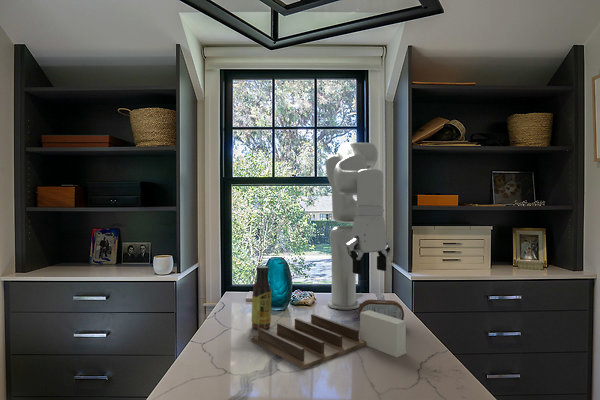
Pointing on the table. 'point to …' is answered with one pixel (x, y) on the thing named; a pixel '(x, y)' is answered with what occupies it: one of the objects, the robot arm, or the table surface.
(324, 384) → the table surface
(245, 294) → the table surface
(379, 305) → the tin
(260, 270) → the sauce bottle
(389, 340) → the white rectangular box
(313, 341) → the dish rack
